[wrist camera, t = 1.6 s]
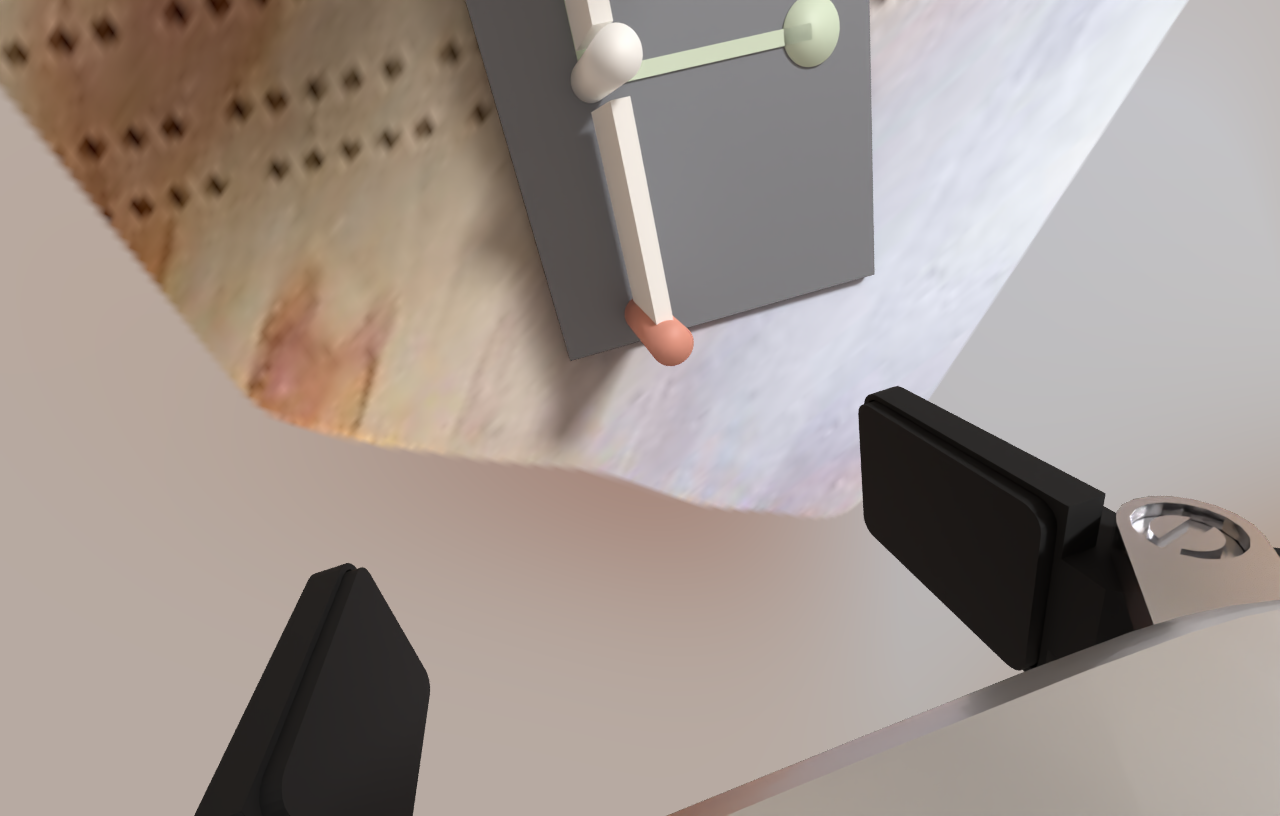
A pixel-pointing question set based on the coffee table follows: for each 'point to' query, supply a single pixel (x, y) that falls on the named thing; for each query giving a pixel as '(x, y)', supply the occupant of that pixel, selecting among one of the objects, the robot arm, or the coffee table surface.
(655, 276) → the fence swing section
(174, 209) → the coffee table surface
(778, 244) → the card
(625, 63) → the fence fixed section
